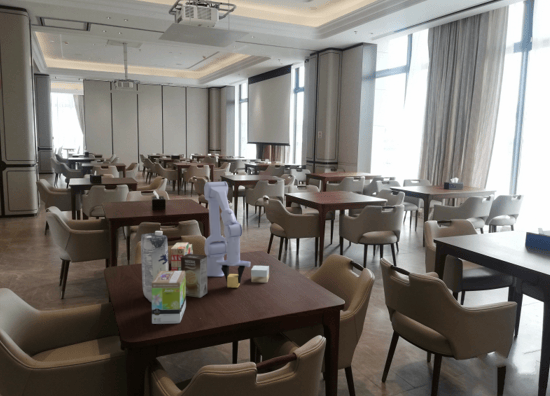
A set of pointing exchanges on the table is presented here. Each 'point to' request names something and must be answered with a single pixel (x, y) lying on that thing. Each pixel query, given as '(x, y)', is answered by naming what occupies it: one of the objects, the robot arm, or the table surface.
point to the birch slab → (260, 279)
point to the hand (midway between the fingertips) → (233, 282)
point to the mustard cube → (232, 280)
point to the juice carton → (153, 259)
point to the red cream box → (179, 254)
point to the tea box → (168, 297)
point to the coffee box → (195, 274)
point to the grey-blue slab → (260, 271)
